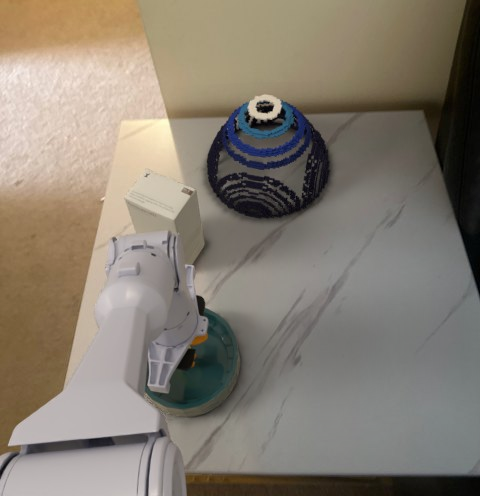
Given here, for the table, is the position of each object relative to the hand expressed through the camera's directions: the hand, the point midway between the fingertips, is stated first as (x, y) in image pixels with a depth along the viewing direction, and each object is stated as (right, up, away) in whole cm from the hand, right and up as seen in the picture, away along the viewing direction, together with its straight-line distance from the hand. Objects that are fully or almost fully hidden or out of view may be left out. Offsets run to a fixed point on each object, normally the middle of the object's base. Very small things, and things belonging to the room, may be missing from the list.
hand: (184, 350), depth 70 cm
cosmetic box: (-3, +11, +15) cm, 19 cm away
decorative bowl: (+12, +23, +24) cm, 35 cm away
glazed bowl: (0, -3, +4) cm, 5 cm away
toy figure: (0, -2, +3) cm, 4 cm away
